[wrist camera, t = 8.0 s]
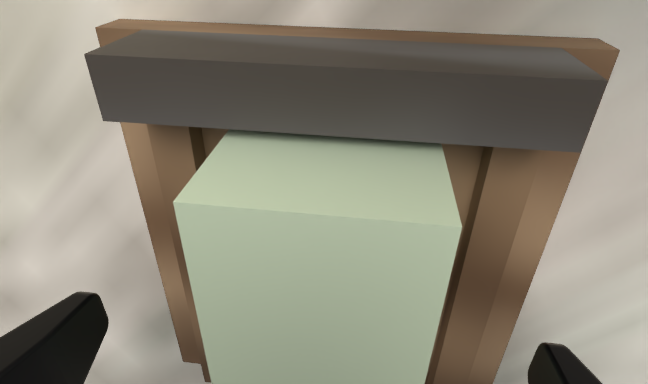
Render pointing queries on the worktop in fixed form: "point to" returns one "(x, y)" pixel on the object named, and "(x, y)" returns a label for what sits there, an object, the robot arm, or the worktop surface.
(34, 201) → the worktop surface
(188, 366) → the worktop surface
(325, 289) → the block
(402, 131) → the channel board
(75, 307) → the robot arm
